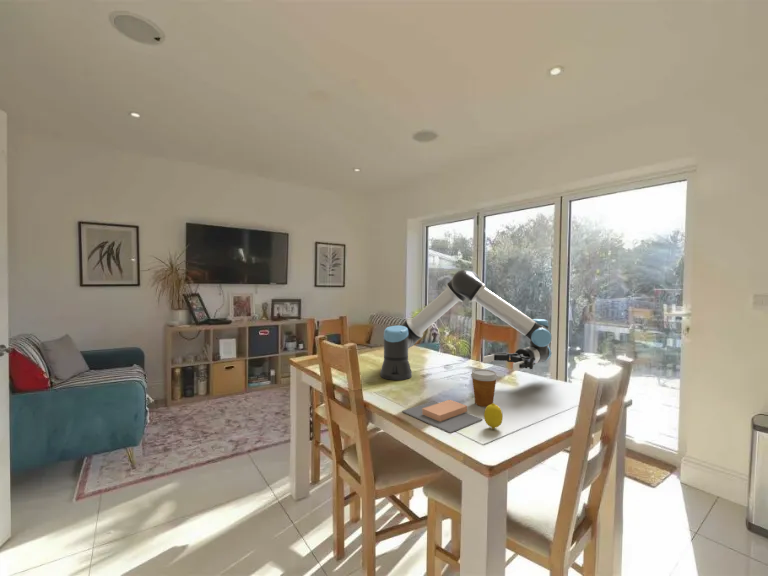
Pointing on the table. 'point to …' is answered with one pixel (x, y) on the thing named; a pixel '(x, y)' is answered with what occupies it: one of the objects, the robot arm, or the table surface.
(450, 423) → the mat
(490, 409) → the lemon
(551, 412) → the table surface
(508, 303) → the robot arm
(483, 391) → the disposable coffee cup
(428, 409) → the tile
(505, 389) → the table surface
